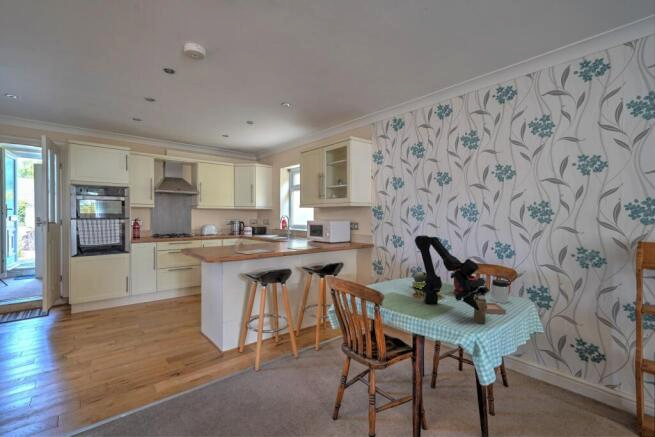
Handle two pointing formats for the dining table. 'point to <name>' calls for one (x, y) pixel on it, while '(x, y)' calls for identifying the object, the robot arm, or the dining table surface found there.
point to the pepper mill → (480, 309)
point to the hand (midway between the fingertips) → (482, 309)
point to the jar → (499, 291)
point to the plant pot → (458, 284)
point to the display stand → (495, 309)
